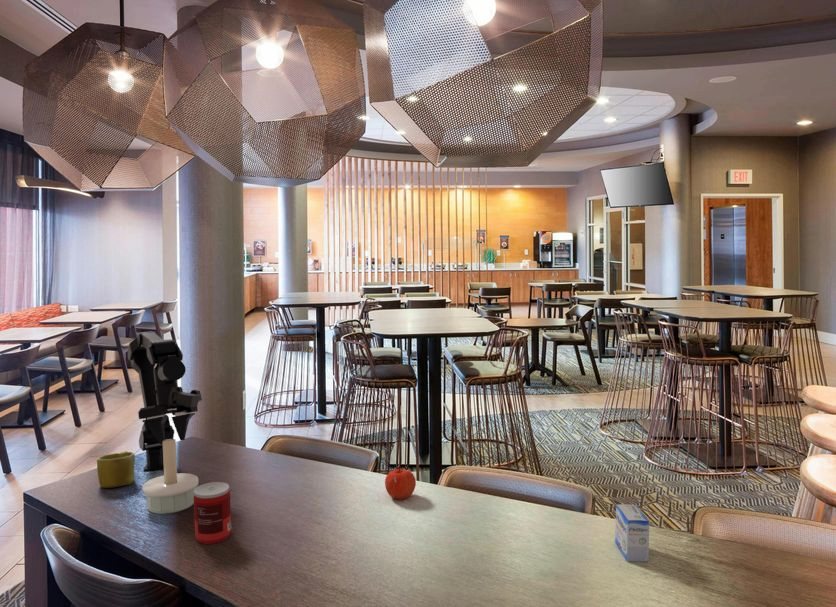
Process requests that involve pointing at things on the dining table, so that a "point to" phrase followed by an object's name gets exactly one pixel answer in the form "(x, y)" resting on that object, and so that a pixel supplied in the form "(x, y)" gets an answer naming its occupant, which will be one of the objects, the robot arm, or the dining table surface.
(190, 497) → the bowl
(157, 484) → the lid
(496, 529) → the dining table surface
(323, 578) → the dining table surface
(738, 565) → the dining table surface
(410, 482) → the apple
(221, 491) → the canned food
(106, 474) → the mug
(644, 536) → the medicine box
